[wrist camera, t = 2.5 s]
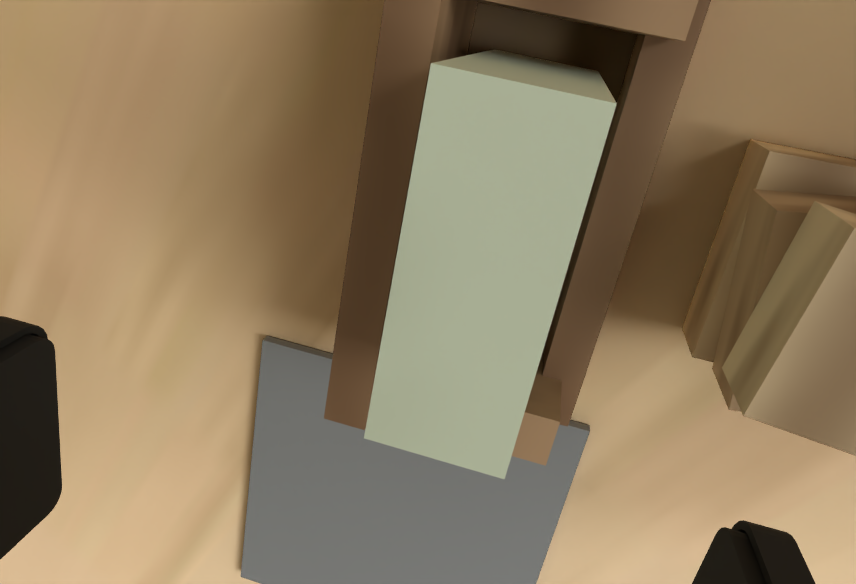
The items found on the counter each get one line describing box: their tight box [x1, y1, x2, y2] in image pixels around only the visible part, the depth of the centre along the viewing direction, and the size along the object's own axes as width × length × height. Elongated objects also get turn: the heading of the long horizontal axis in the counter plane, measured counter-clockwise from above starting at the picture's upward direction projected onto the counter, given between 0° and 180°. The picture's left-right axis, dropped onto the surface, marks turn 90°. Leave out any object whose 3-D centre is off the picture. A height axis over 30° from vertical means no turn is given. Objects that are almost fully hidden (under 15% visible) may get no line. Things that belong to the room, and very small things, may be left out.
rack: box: [324, 0, 711, 466], centre depth 23 cm, size 9×17×7 cm, turn 170°
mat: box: [241, 336, 590, 584], centre depth 34 cm, size 16×16×1 cm
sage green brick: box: [364, 49, 617, 479], centre depth 21 cm, size 4×10×12 cm, turn 170°
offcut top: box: [722, 201, 856, 456], centre depth 19 cm, size 4×6×3 cm
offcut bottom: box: [682, 139, 856, 362], centre depth 24 cm, size 5×8×3 cm, turn 171°
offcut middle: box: [712, 189, 856, 411], centre depth 22 cm, size 5×7×3 cm, turn 179°
